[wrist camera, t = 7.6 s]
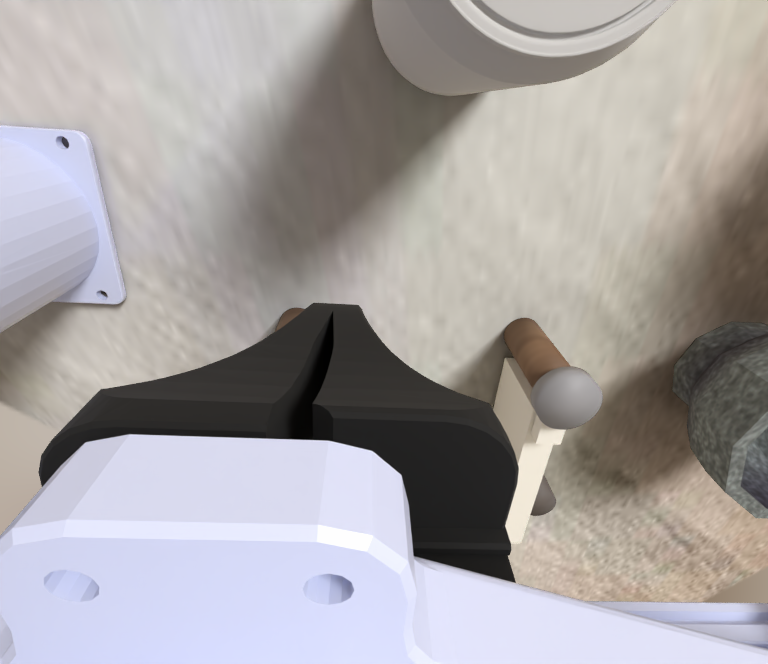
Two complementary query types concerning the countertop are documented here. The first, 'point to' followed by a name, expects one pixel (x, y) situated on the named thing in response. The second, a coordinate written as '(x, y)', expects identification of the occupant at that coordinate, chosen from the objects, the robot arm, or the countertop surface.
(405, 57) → the beverage can
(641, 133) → the countertop surface
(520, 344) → the posts
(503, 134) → the countertop surface
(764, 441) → the mortar and pestle
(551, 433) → the gate
